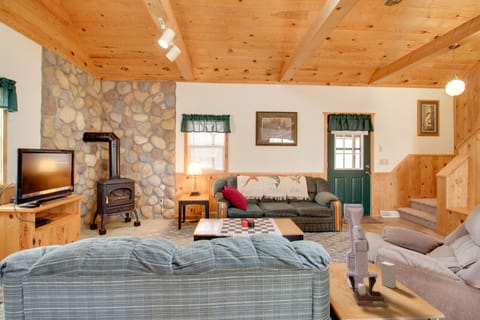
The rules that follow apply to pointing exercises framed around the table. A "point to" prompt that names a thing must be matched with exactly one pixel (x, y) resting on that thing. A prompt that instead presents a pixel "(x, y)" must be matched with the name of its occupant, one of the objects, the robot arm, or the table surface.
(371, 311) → the table surface
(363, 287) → the plug
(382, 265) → the skincare box
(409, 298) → the table surface
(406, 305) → the table surface
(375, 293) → the socket board
